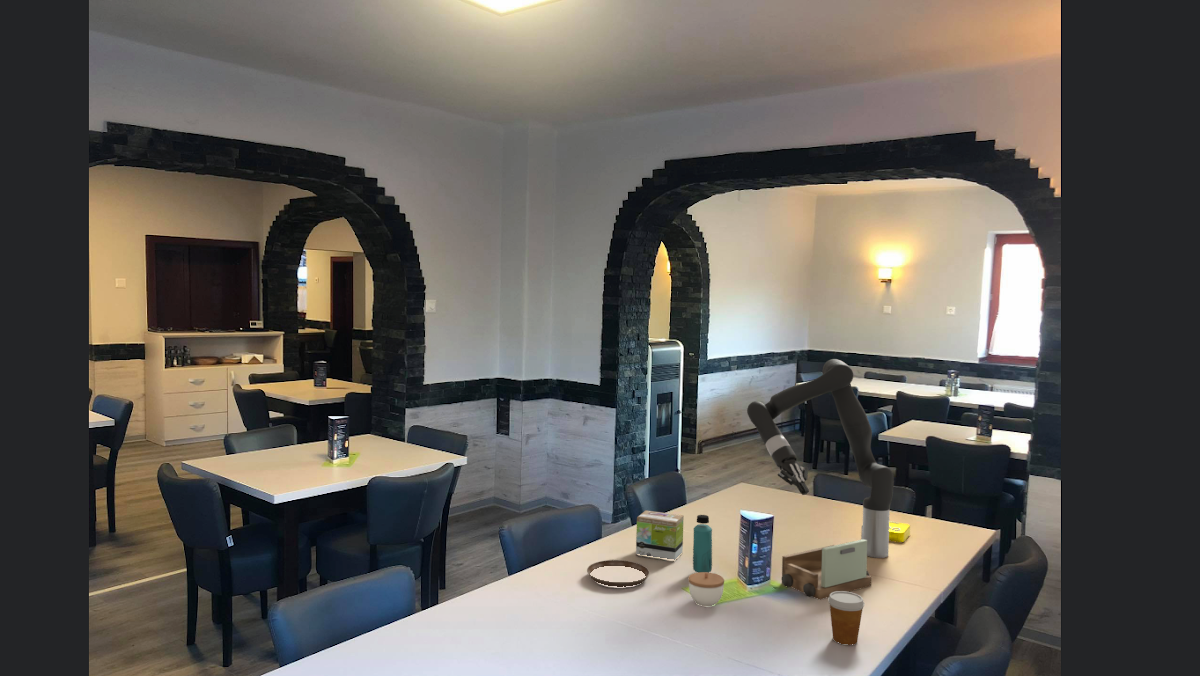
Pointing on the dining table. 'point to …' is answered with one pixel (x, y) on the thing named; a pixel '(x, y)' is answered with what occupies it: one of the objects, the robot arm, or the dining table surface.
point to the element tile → (898, 531)
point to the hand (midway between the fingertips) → (805, 493)
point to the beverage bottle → (702, 545)
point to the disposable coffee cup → (845, 616)
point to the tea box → (659, 534)
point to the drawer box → (813, 575)
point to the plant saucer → (618, 563)
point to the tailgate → (844, 563)
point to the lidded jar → (706, 588)
